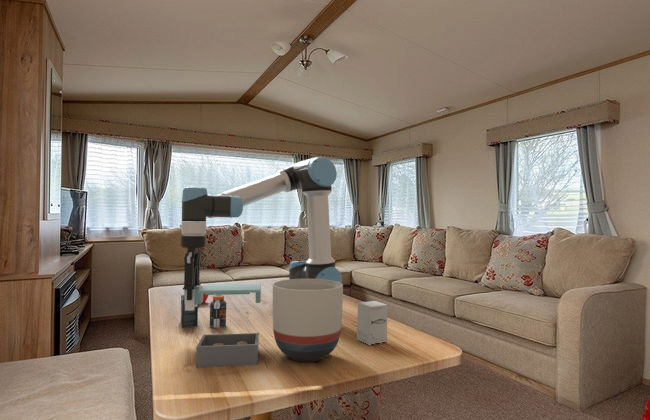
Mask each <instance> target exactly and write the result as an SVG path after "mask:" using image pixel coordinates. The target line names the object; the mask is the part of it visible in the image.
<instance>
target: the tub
mask: <svg viewBox="0 0 650 420" xmlns="http://www.w3.org/2000/svg"><path fill="white" fill-rule="evenodd" d="M259 335H260V333H259V332H251V333H250V332H249V333H248V332H247V333H245V332H244V333H217V334H216V333H215V334H214V333H213V334H203V335H202V336H201V338H200V339H199V342H198V343H197V345H196V346H195V347H196V348H195V368H204V367H205V368H207V367H208V368H209V367H210V368H211V367H229V366H233V367H234V366H256V365H258V360H259V350H260V349H259V348H260V347H259V346H260V343H259V342H260V340H259V339H260V336H259ZM240 341H246V342H247V344H243V345H237V342H240ZM215 343H223V345H214V346H213V344H215Z"/></svg>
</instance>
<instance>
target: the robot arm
mask: <svg viewBox="0 0 650 420" xmlns="http://www.w3.org/2000/svg"><path fill="white" fill-rule="evenodd" d="M337 177H338V175H337V169H336V166H335V164H334V163H333V161H332V160H331V159H329V158H327V157H326V156H315V157H311V158H307V159H303V160H300V161H299V160H298V161H297V162H295V163H293V164H291V165H289V166H287V167H285V168H282V169H279V170H278V171H277V172H276V173H275V174H273V175H270V176H267V177H266V176H265V177H264V178H260V179H257V180H254V181H253V182H252V181H251V182H249V183H246V184H244V185H243V184H242V185H241V186H238V187H234V188H232V189H229V190H226V191H223V192H221V193H218V194H210V193H208V189H207V188H206V187H200V186H186V187H184V188H183V190H182V196H181V224H179V228H181V232H180V234H182V235H181V237H180V247H181V248H183V249H187V251H186V253H185V256H184V258H183V259H184V261H183V262H184V272H183V273H184V274H183V275H184V277H183V278H184V279H183V281H184V282H183V287H182V290H185V311H193V310H194V307H197V306H198V307H199V304H195V289H194V286H202V285H201V284H202V283H201V282H200V275H201V274H200V273H201V256H202V255H201V253H200V252H199V251H200V250H199V249H202V248H203V249H204V248H205V247H206V240H207V239H206V238H207V237H206V236H205V235H206V234H207V218H209V219H212V218H230V219H232V218H240V217H241V216H242V214H243V210H244V207H245V206H248V205H251V204H253V203H256V202H259V201H261V200H264V199H266V198H269V197H272V196H275V195H276V194H280V193H282V192H284V193H289V192H293V191H297V190H301V191H302V194H303V195H304V196H305V197H306V215H307V216H306V218H307V235H308V236H307V237H308V259H306V260H294V261H293V260H292V261H291V262H290V263H289V268H288V273H289V275H288V278H289V279H325V280H332V281H337V282H340V283H342V281H343V277H342V273H341V271H339V270H338V268H337V267H336V260H335V258H333V256H332V249H331V247H332V246H331V230H330V229H331V225H330V224H331V223H330V209H329V208H330V206H329V205H330V204H329V195H330V194H331V193H332V192H333V191H332V189H333V188H332V186H333V184H335V181H336V179H337ZM289 279H288V280H289Z"/></svg>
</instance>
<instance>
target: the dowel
mask: <svg viewBox="0 0 650 420" xmlns="http://www.w3.org/2000/svg"><path fill="white" fill-rule="evenodd" d="M243 344H247V342H246V341H240V342H237V345H243Z"/></svg>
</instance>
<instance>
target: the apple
mask: <svg viewBox="0 0 650 420" xmlns="http://www.w3.org/2000/svg"><path fill="white" fill-rule="evenodd" d="M208 298H209V295H206V293H203V302H202V303H201V304H200V305H202V304H204V303H206V302H207V300H208Z"/></svg>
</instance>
